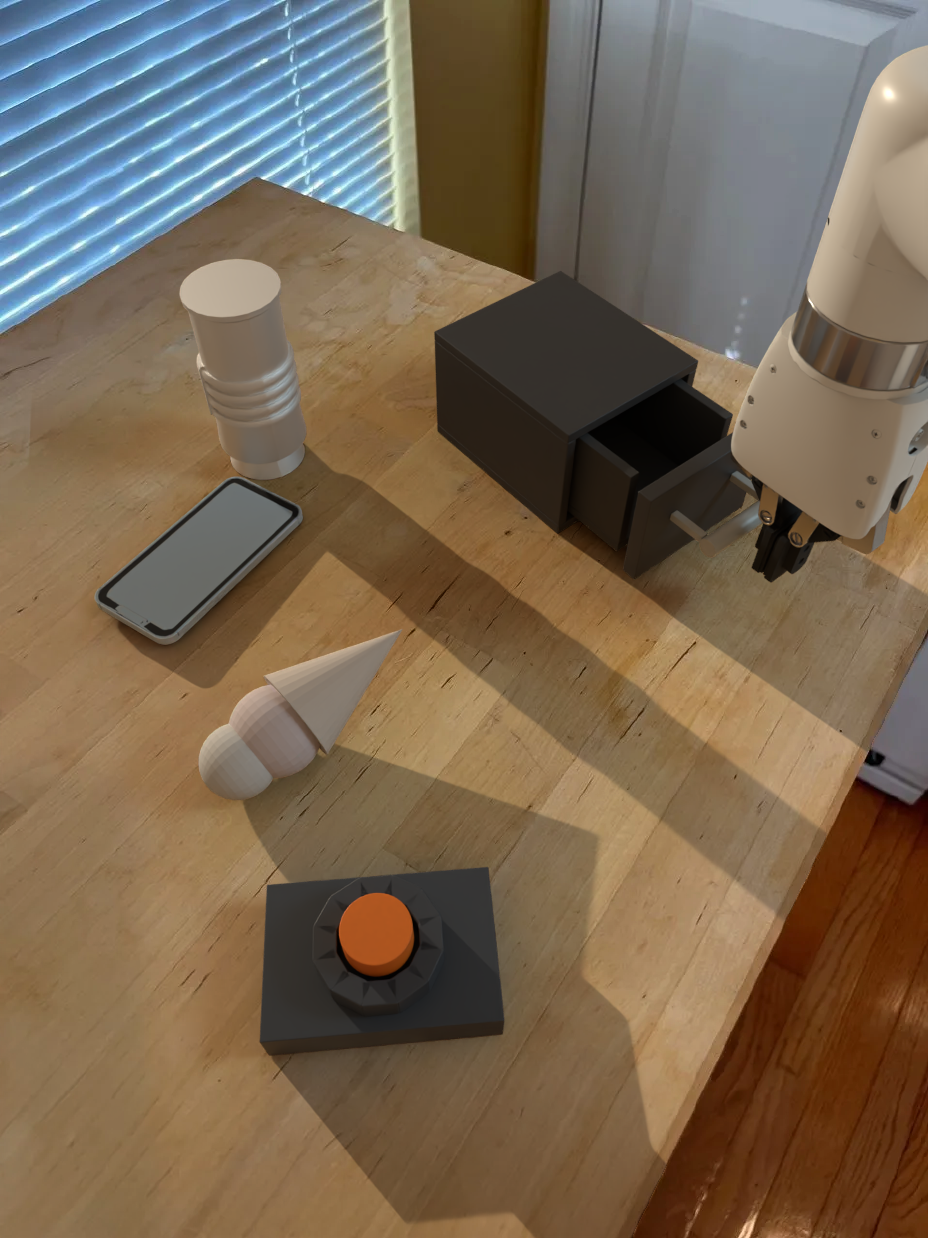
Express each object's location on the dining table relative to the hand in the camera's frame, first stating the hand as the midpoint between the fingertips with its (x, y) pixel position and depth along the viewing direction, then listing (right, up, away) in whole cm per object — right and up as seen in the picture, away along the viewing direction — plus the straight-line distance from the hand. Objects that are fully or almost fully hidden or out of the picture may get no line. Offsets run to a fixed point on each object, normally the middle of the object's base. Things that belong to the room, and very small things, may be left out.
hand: (775, 565), depth 62 cm
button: (-25, -20, -15) cm, 35 cm away
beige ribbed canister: (-36, +10, +13) cm, 40 cm away
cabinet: (-13, +10, +14) cm, 22 cm away
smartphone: (-39, +1, +6) cm, 40 cm away
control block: (-25, -22, -11) cm, 35 cm away
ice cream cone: (-30, -11, -2) cm, 32 cm away
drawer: (-7, +5, +8) cm, 12 cm away
